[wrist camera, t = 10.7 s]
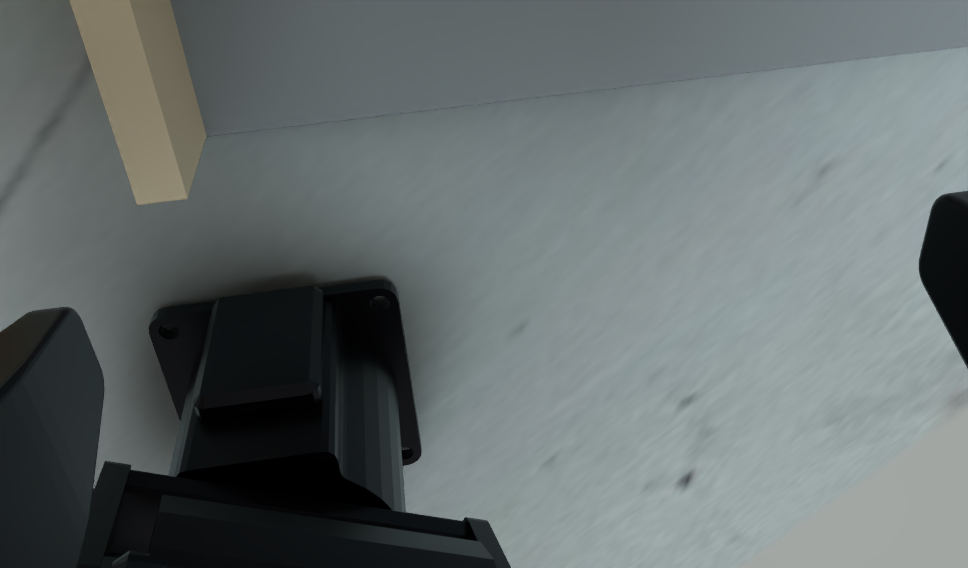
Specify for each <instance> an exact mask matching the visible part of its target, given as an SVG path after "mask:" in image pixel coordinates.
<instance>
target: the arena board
mask: <svg viewBox="0 0 968 568" xmlns="http://www.w3.org/2000/svg"><path fill="white" fill-rule="evenodd" d="M69 1H70V4H71V7H72V10H73V13H74V16H75V19H76V22H77V25H78V28H79V31H80V34H81V37H82V40H83V43H84V46H85V49H86V52H87V55H88V58H89V61H90V64H91V67H92V70H93V73H94V76H95V79H96V82H97V85H98V88H99V91H100V94H101V97H102V100H103V103H104V106H105V109H106V112H107V116H108V119H109V122H110V125H111V128H112V131H113V134H114V137H115V140H116V143H117V146H118V149H119V152H120V155H121V158H122V161H123V164H124V167H125V170H126V173H127V176H128V179H129V182H130V185H131V188H132V191H133V194H134V197H135V200H136V203H137V205H142V204H150V203H159V202H167V201H175V200H183V199H188V196H189V193H190V189H191V186H192V183H193V180H194V176H195V173H196V170H197V166H198V163H199V160H200V157H201V153H202V150H203V147H204V144H205V140H206V137H208V136H216V135H224V134H233V133H241V132H250V131H258V130H267V129H275V128H284V127H292V126H301V125H309V124H317V123H326V122H334V121H343V120H351V119H360V118H368V117H377V116H385V115H394V114H402V113H410V112H419V111H427V110H436V109H444V108H453V107H461V106H470V105H478V104H487V103H495V102H504V101H512V100H520V99H529V98H537V97H546V96H554V95H563V94H571V93H580V92H588V91H597V90H605V89H613V88H622V87H630V86H639V85H647V84H656V83H664V82H673V81H681V80H690V79H698V78H706V77H715V76H723V75H732V74H740V73H749V72H757V71H766V70H774V69H783V68H791V67H799V66H808V65H816V64H825V63H833V62H842V61H850V60H859V59H867V58H876V57H884V56H893V55H901V54H909V53H918V52H926V51H935V50H943V49H952V48H960V47H968V0H69Z"/></svg>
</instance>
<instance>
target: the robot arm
mask: <svg viewBox="0 0 968 568" xmlns="http://www.w3.org/2000/svg"><path fill="white" fill-rule="evenodd" d="M919 273H920V277H921V281H922V283H923V285H924V287H925V289H926V291H927V293H928V295H929V297H930V299H931V300H932V302H933V304H934V306H935V308H936V310H937V312H938V314H939V315H940V317H941V319H942V321H943V323H944V325H945V327H946V329H947V331H948V332H949V334H950V336H951V338H952V340H953V342H954V344H955V346H956V347H957V349H958V351H959V353H960V355H961V357H962V359H963V361H964V363H965V364H966V366H967V368H968V191H964V192H956V193H948V194H944V195H942V196H940V197H939V198H938V199H936V201H935V202H934V204H933V206H932V209H931V212H930V216H929V220H928V225H927V229H926V233H925V237H924V241H923V245H922V249H921V254H920V258H919ZM377 296H384V297H385V298H387V300H386V301H385V302H383V303H375V302H373V301H372V299H373V298H374V297H377ZM164 324H172V325H174V326H176V327H177V328H178V329H176V330H168V329H166V328H164V327H163V326H162V325H164ZM149 335H150V337H151V340H152V343H153V346H154V349H155V351H156V354H157V357H158V360H159V363H160V365H161V368H162V371H163V374H164V377H165V380H166V382H167V385H168V388H169V391H170V394H171V396H172V399H173V402H174V405H175V408H176V410H177V413H178V416H179V419H180V426H179V431H178V435H177V440H176V444H175V449H174V453H173V457H172V462H171V466H170V471H169V475H168V476H167V475H160V474H154V473H148V472H141V471H135V470H130V469H131V465H128V464H122V463H115V462H109V461H105V463H104V465H103V468H102V471H101V473H100V476H99V479H98V481H97V484H96V487H95V489H94V488H93V484H94V475H95V467H96V458H97V450H98V441H99V433H100V425H101V416H102V408H103V399H104V378H103V374H102V370H101V367H100V365H99V362H98V360H97V357H96V355H95V352H94V350H93V347H92V345H91V342H90V340H89V337H88V335H87V332H86V330H85V327H84V325H83V322H82V320H81V318H80V316H79V315H78V314H77V312H76V311H75V310H73V309H72V308H69V307H60V308H52V309H44V310H36V311H32V312H29V313H27V314H25V315H24V316H22V317H21V318H20V319H18V320H17V321H15V322H14V323H13V324H11V325H10V326H8V327H7V328H6V329H4V330H3V331H1V332H0V568H511V567H510V565H509V563H508V561H507V559H506V557H505V555H504V553H503V551H502V549H501V547H500V545H499V543H498V540H497V538H496V536H495V534H494V532H493V530H492V528H491V526H490V524H489V522H488V521H486V520H480V519H474V518H467V517H466V518H464V520H463V521H458V520H451V519H445V518H438V517H432V516H425V515H419V514H413V513H406V508H405V494H404V480H403V466H404V465H409V464H412V463H414V462H416V461H417V460H418V459H419V458H420V456H421V451H422V450H421V441H420V434H419V428H418V421H417V415H416V408H415V402H414V395H413V389H412V382H411V376H410V369H409V362H408V356H407V349H406V343H405V336H404V330H403V323H402V317H401V310H400V304H399V297H398V292H397V290H396V287H395V286H394V285H393V284H391V283H390V282H387V281H385V280H372V281H365V282H357V283H349V284H342V285H334V286H326V287H318V288H316V287H313V286H306V287H299V288H291V289H283V290H275V291H268V292H260V293H252V294H245V295H237V296H229V297H222V298H220V299H219V300H218V301H211V302H203V303H195V304H188V305H180V306H172V307H165V308H162V309H159V310H158V311H157V312H155V313H154V315H153V317H152V319H151V323H150V326H149ZM402 447H409V449H407V450H401V448H402Z"/></svg>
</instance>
